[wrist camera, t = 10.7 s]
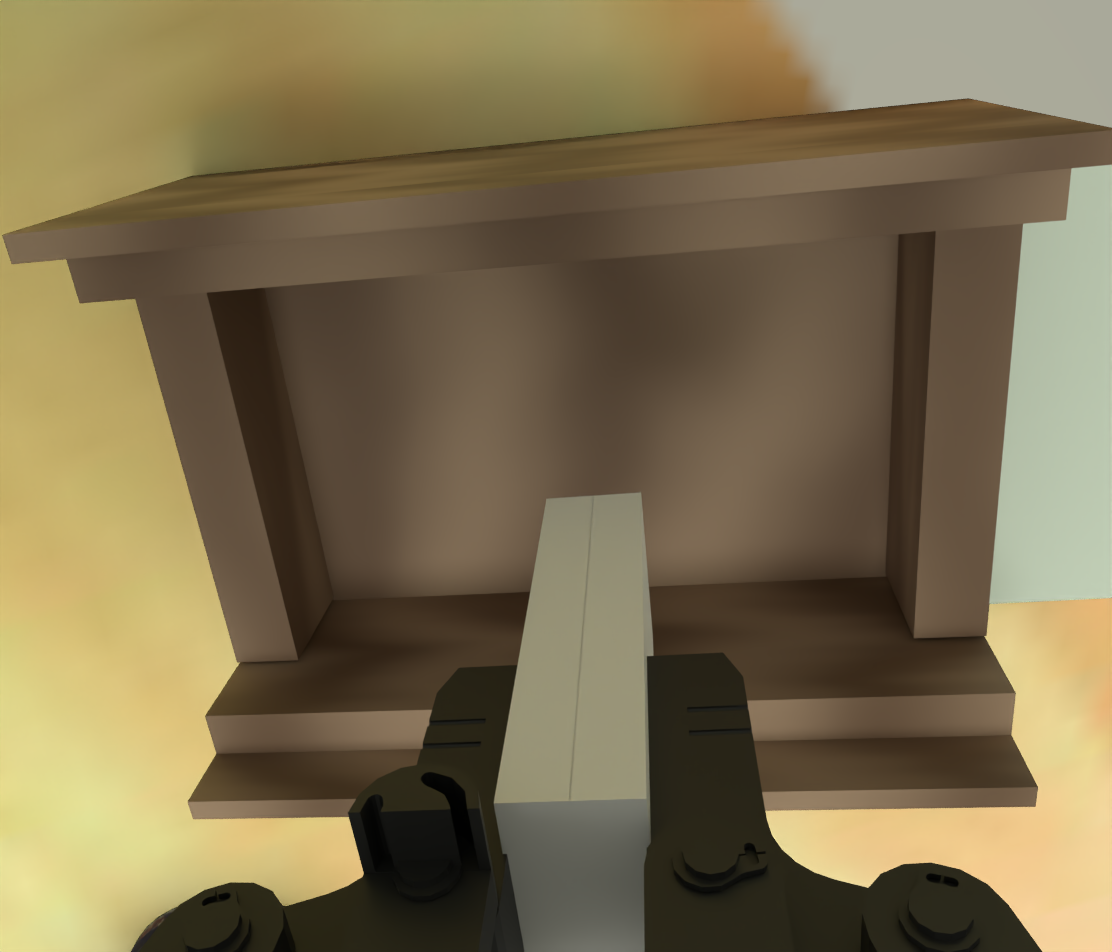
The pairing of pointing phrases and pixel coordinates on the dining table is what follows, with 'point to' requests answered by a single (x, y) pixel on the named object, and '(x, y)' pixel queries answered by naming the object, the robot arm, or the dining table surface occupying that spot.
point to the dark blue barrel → (150, 931)
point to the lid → (1060, 408)
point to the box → (603, 426)
